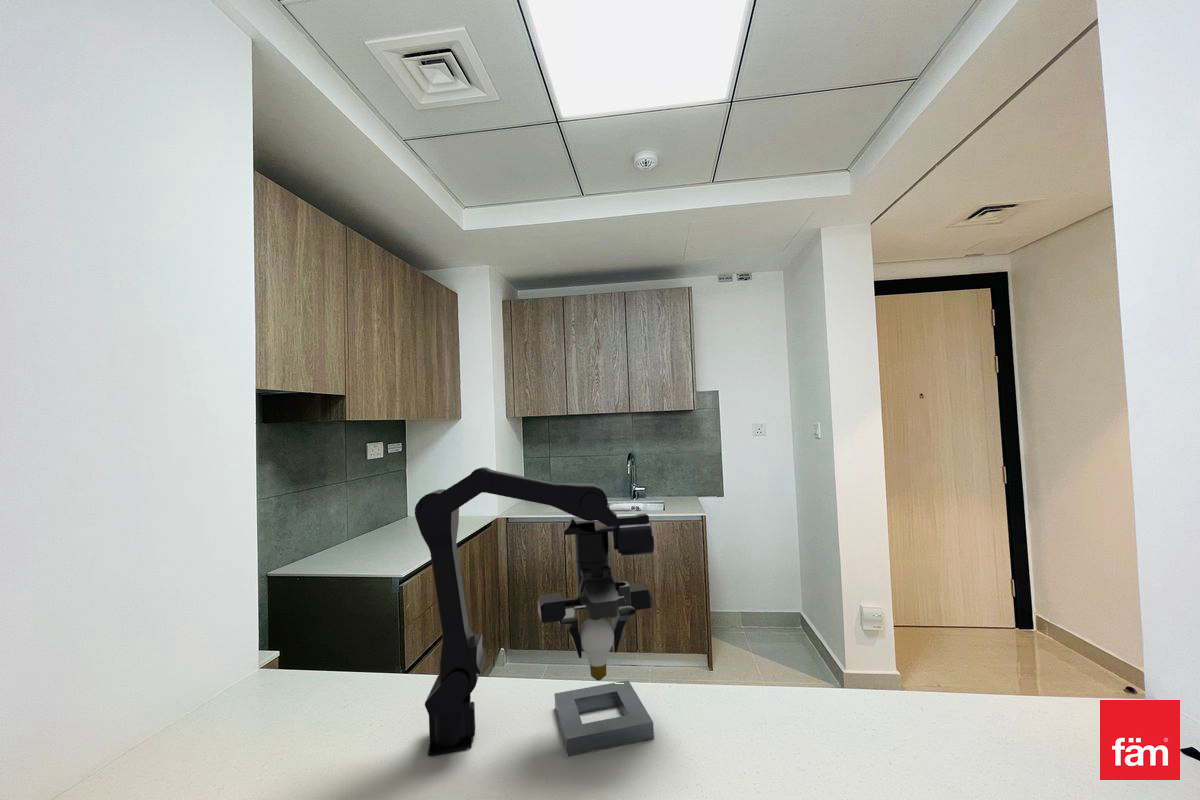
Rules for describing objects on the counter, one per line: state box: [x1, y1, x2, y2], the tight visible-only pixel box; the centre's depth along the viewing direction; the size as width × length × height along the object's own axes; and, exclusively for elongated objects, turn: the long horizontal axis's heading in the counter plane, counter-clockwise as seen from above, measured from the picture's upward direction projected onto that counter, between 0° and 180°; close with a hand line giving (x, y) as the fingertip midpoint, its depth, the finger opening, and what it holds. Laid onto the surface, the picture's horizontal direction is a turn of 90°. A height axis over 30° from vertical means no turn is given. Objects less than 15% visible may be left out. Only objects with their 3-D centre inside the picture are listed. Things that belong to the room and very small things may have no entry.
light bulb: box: [579, 617, 614, 681], centre depth 81 cm, size 6×6×10 cm
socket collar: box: [554, 679, 655, 757], centre depth 80 cm, size 14×14×2 cm
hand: (597, 654), depth 81 cm, fingers closed on light bulb, 6 cm apart
